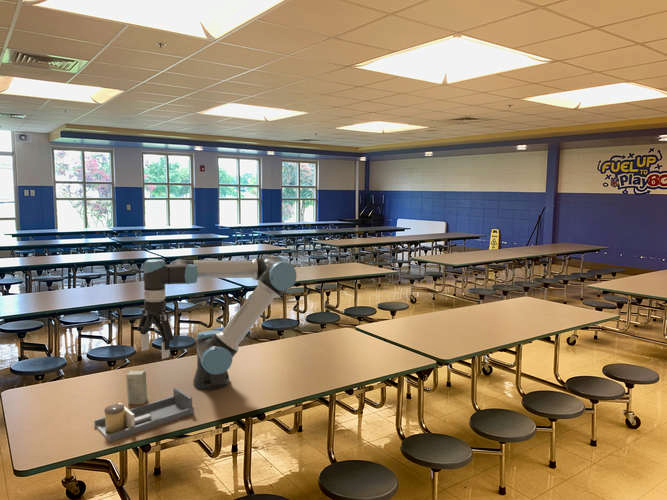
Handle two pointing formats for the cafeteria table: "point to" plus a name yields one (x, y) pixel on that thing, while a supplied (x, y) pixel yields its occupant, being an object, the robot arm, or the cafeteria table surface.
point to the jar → (114, 418)
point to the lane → (153, 415)
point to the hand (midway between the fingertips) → (155, 353)
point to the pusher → (130, 419)
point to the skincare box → (136, 387)
